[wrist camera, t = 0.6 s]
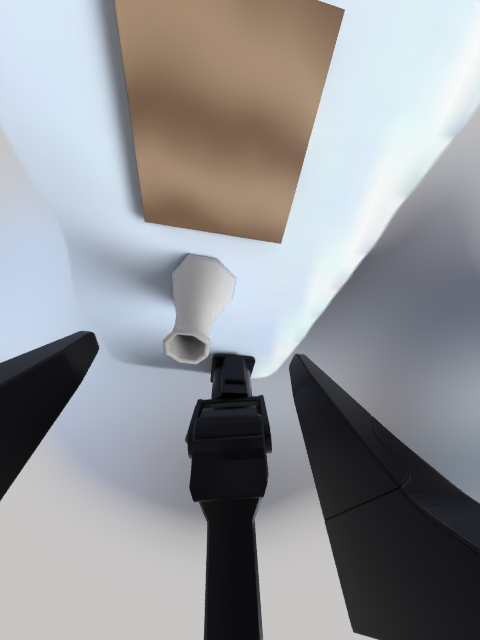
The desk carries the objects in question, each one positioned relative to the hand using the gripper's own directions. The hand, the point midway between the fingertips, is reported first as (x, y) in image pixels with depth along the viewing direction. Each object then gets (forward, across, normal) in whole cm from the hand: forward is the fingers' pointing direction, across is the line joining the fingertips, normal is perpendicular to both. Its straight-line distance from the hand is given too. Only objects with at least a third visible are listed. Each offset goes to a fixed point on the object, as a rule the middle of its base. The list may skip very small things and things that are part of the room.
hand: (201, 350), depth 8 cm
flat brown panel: (+13, +1, -9) cm, 16 cm away
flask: (+13, +1, +3) cm, 14 cm away
